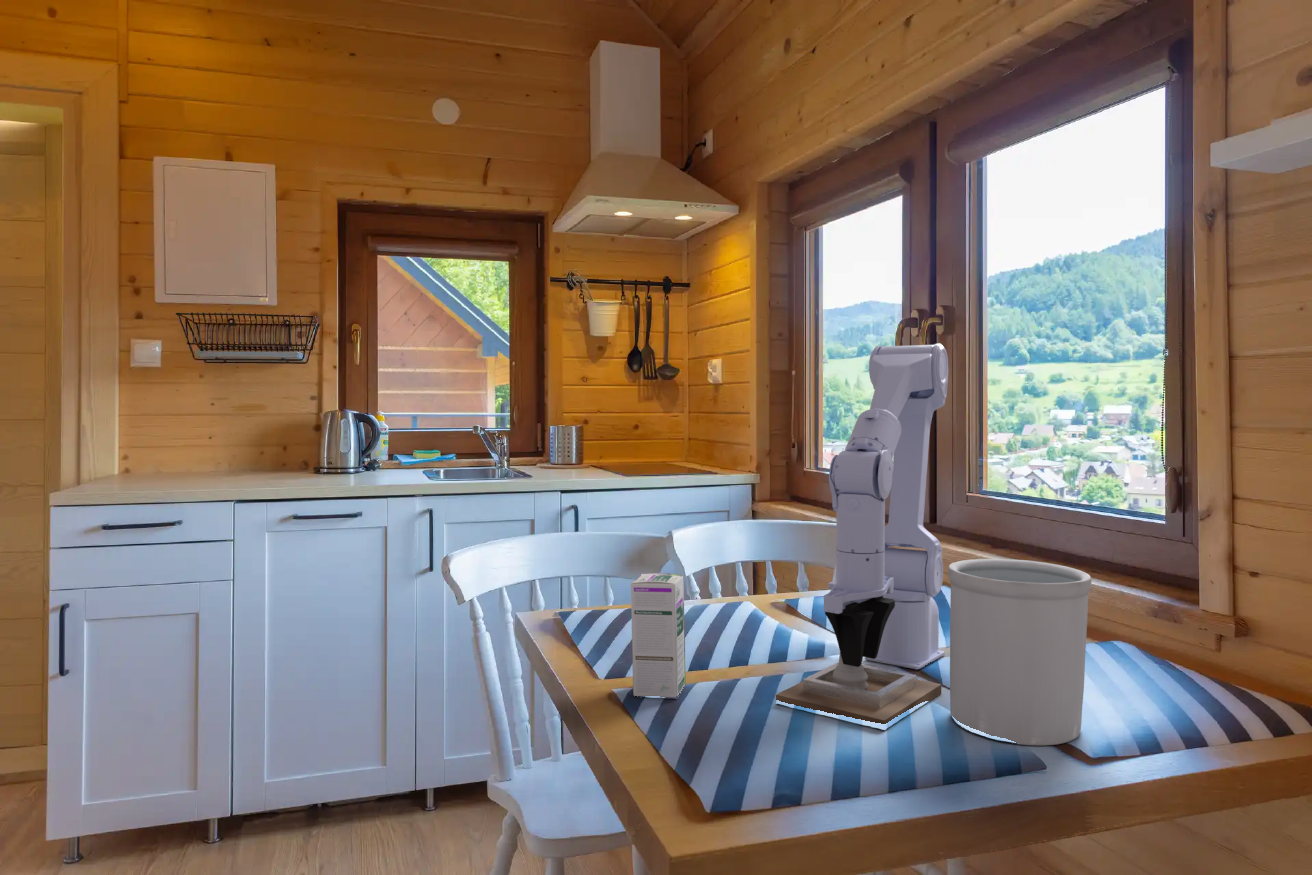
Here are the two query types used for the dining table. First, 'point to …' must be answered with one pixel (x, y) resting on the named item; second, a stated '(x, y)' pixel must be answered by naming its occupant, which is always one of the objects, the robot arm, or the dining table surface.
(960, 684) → the utensil holder
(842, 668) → the rook chess piece
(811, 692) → the collar board
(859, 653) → the robot arm
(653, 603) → the syrup box
